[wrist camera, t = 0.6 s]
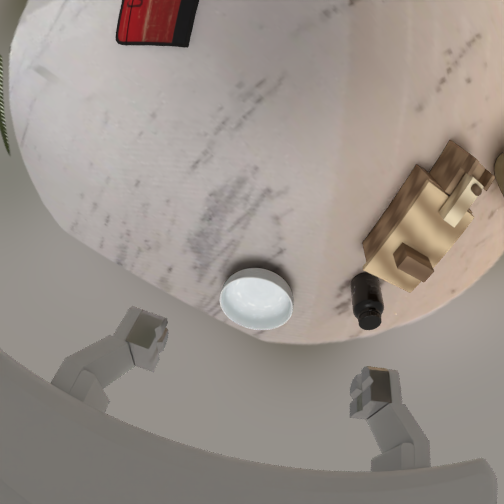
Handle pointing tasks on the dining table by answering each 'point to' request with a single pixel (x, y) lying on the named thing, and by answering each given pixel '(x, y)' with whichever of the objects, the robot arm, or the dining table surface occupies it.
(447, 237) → the lid
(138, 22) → the binder
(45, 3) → the dining table surface
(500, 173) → the plant pot
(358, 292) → the supplement bottle
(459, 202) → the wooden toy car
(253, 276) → the cereal bowl
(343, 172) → the dining table surface
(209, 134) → the dining table surface
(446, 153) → the open wooden box
